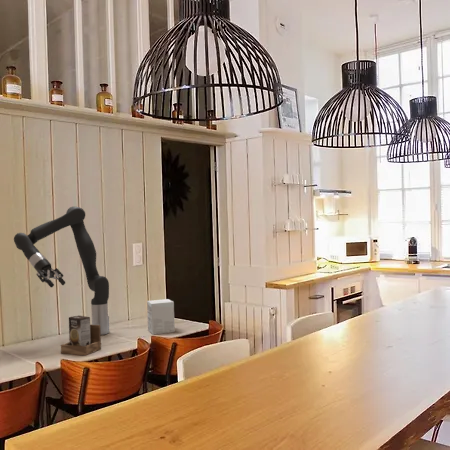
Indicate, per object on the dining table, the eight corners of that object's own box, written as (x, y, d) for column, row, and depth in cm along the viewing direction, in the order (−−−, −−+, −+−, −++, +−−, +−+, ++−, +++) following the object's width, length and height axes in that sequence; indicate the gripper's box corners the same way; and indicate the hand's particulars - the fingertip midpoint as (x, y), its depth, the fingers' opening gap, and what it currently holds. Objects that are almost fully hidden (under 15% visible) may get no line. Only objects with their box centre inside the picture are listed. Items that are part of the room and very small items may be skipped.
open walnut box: (77, 347, 251) (76, 323, 251) (101, 348, 246) (100, 325, 246) (61, 353, 239) (60, 328, 239) (85, 355, 234) (84, 330, 234)
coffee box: (69, 349, 242) (68, 317, 242) (79, 346, 247) (78, 315, 247) (80, 352, 237) (79, 318, 237) (91, 349, 242) (90, 316, 242)
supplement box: (169, 327, 292) (168, 298, 292) (175, 332, 279) (174, 301, 279) (147, 330, 287) (146, 300, 287) (152, 334, 275) (151, 303, 275)
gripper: (33, 259, 248) (52, 281, 244) (53, 256, 261) (71, 278, 257) (26, 269, 250) (44, 292, 246) (45, 266, 263) (64, 288, 259)
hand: (58, 285), depth 251 cm, fingers open, 8 cm apart
